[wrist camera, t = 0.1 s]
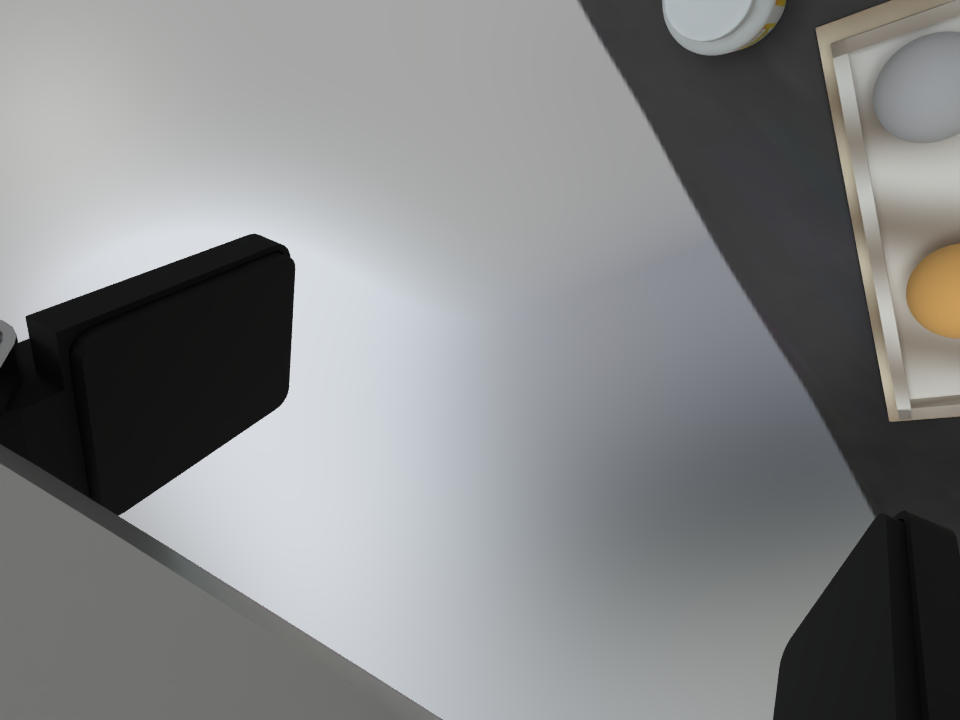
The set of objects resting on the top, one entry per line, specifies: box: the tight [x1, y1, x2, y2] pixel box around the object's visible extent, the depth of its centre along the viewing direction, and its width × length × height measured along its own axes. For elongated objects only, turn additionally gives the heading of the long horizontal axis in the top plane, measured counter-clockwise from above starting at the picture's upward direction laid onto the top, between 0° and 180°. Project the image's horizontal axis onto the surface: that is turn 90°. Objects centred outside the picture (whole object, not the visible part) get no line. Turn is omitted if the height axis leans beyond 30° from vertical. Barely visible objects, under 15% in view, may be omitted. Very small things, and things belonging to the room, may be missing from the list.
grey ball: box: [873, 31, 960, 143], centre depth 33 cm, size 5×5×5 cm
